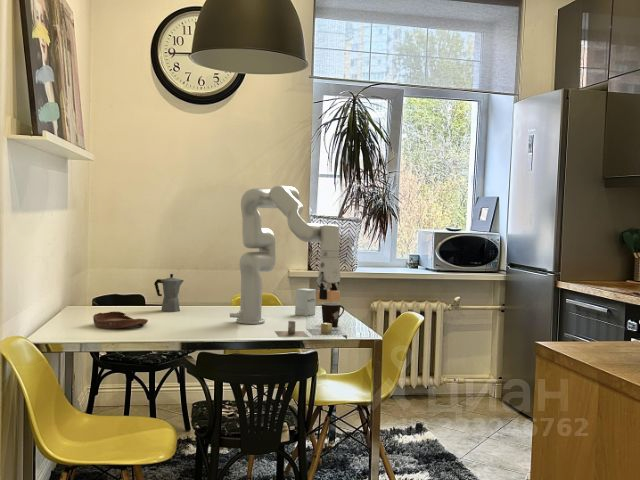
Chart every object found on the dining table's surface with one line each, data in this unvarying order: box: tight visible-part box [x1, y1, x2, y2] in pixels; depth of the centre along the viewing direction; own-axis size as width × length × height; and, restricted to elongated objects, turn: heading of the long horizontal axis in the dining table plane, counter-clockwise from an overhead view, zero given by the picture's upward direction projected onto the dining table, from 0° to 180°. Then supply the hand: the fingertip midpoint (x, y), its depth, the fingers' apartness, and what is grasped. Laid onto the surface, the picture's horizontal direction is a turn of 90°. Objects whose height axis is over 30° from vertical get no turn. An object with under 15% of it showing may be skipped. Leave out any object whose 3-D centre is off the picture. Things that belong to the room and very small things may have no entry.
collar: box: [316, 289, 341, 303], centre depth 272 cm, size 7×7×4 cm
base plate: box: [306, 322, 348, 340], centre depth 273 cm, size 14×14×5 cm
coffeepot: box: [154, 273, 184, 313], centre depth 325 cm, size 15×9×18 cm, turn 129°
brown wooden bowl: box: [92, 311, 149, 329], centre depth 277 cm, size 22×20×5 cm
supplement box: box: [294, 287, 317, 317], centre depth 329 cm, size 7×7×13 cm
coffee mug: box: [320, 302, 345, 328], centre depth 297 cm, size 12×9×10 cm
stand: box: [274, 320, 309, 338], centre depth 266 cm, size 12×12×6 cm
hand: (328, 298), depth 272 cm, fingers closed on collar, 7 cm apart
